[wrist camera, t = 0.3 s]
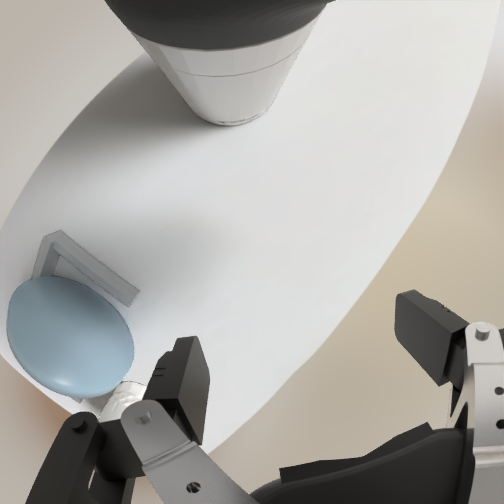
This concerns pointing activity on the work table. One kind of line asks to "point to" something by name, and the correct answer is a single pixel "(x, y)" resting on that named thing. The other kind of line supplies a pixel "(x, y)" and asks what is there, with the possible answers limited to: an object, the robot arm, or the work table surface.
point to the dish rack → (71, 324)
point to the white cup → (122, 400)
